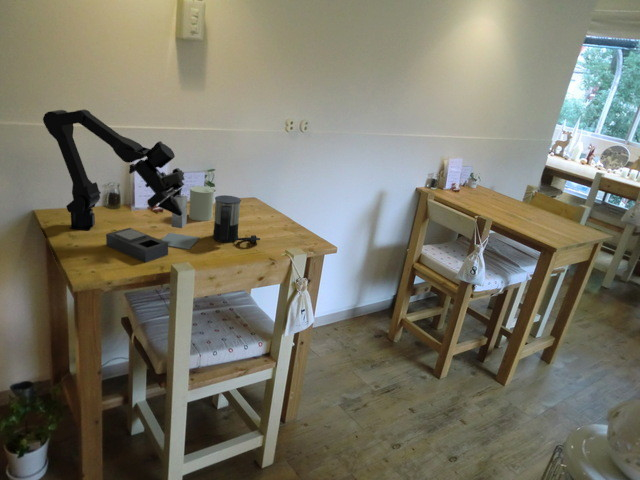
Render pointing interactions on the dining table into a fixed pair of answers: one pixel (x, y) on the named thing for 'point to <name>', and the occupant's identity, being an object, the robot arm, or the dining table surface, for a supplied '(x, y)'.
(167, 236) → the mat
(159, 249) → the dark grey socket base
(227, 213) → the milk frother
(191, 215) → the can
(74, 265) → the dining table surface
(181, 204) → the grey rectangular block
